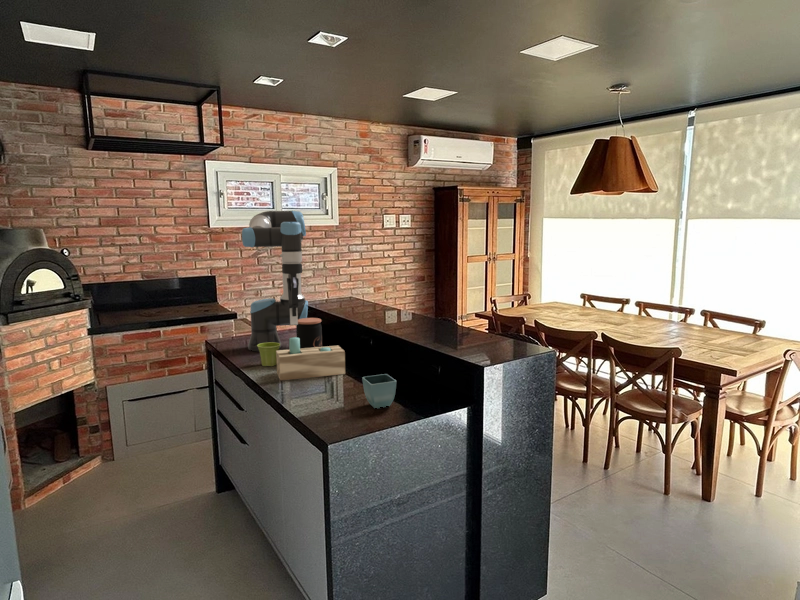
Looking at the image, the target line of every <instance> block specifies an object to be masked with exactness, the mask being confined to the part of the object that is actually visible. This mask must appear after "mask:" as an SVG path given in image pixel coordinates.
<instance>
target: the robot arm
mask: <svg viewBox="0 0 800 600" xmlns="http://www.w3.org/2000/svg"><path fill="white" fill-rule="evenodd" d="M305 224H306V223H305V219H304V215H303V213H302V212H301V211H299V210H267V211H263V212H259V213H257V214H255V215H254V216H253V217H252V218H251V219H250V221H249V225H248V227H243V228H242V229H241V241H242V242H241V243H242V246H243V247H244V248H267V247H269V248H273V247H274V248H275V247H277V248H281V254H280V255H279V257H281V271H282V272H281V273H282V295H281V296H280V298H279V299H280V300H279V301H276V299H275V298H264V299H257V300H255V301H253V302H252V303H251V304H250V311H249V313H250V327H251V329H250V330H251V334H250V337H249V341H248V343H247V349H248V350H249V351H251V350H252V352H260V351H259V349H258V347H257V345H258V344H260V343H268V342H275V343H280V346H279V349H281V348H282V342H281V340H280V337H279V334H278V331H277V326H279V327H281V326H297V324H298V319H302V318H308V312H309V311H308V309H309V301H308V300H307V299H306V297H305V295H304V294H302V273H303V263H302V262H303V251H302V242H303V241H304V237H306V236H307V232H306V225H305Z"/></svg>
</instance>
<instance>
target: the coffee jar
mask: <svg viewBox="0 0 800 600" xmlns="http://www.w3.org/2000/svg"><path fill="white" fill-rule="evenodd" d="M321 322H322V319H321V318H318V317H307V318H302V319H298V324H297V325H295V327H296V337H298V338H300V349H302V348H314V347H323V330H322V329H323V328H322V324H321Z"/></svg>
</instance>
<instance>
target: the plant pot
mask: <svg viewBox="0 0 800 600" xmlns="http://www.w3.org/2000/svg"><path fill="white" fill-rule="evenodd" d="M279 346H280V343H275V342H268V343H260V344H258V345H257V347H258V349H259V351H258V352H259V355H260V361H261V365H262V366H263V367H274V366H277V359H276V351H278V350H280V348H279Z"/></svg>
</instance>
